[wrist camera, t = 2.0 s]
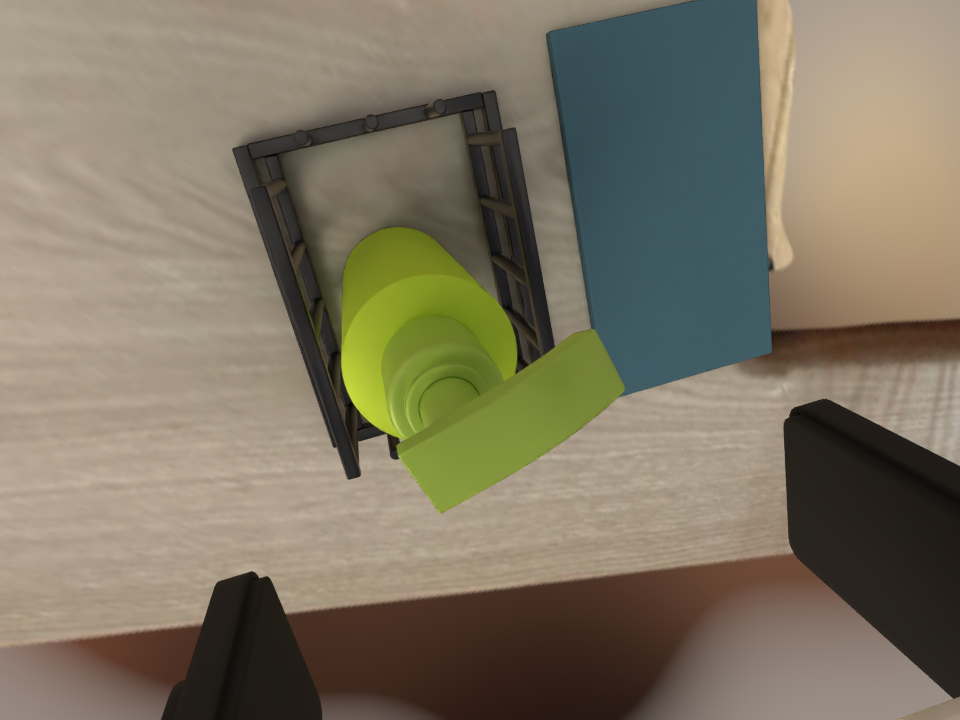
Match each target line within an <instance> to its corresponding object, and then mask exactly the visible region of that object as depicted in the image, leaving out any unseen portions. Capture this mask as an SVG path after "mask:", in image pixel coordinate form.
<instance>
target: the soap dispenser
mask: <svg viewBox="0 0 960 720" xmlns="http://www.w3.org/2000/svg"><path fill="white" fill-rule="evenodd" d="M516 365H517V344H516V338H515V334H514V330H513V328H512V325H511V323H510V320H509V318H508V316H507V315H506V313H505V311H504V310H503V308H502V307H501V306H500V304H499V303H498V302H497V301H496V300H495V299H494V298H493V297H492V296H491V295H490V294H489V293H488V292H487V291H486V290H485V289H484V288H483V287H482V286H481V285H480V284H479V283H478V282H477V281H476V280H475V279H474V278H473V277H472V276H471V275H470V274H469V273H468V272H467V271H466V270H465V269H464V268H463V267H462V266H461V265H460V264H459V263H458V262H457V261H456V260H455V259H454V258H453V257H452V256H451V255H450V254H449V253H448V252H447V251H446V250H445V249H444V248H443V247H442V246H441V245H440V244H439V243H438V242H437V241H435V240H434V239H433V238H432V237H430V236H429V235H427V234H425V233H423V232H421V231H418V230H415V229H411V228H406V227H392V228H386V229H382V230H379V231H377V232H374V233H372V234H371V235H369V236H367V237H366V238H365V239H363V240H362V241H361V242H360V243H359V244H358V245H357V246H356V247H355V248H354V250H353V251H352V253H351V254H350V256H349V258H348V260H347V262H346V265H345V268H344V273H343V290H342V343H341V368H342V375H343V380H344V384H345V387H346V390H347V392H348V394H349V396H350V398H351V400H352V402H353V403H354V405H355V406H356V408H357V409H358V411H359V412H360V413H361V414H362V415H363V416H364V417H365V418H366V419H367V420H368V421H369V422H370V423H372V424H373V425H374V426H376V427H377V428H379V429H380V430H382V431H384V432H386V433H388V434H390V435H392V436H395V437H398V438H401V439H403V440H404V441H403V442H401V443H399V444H398V445H397V446H396V447H397V453H398V457H399V458H400V460H401V461H402V463H403V464H404V465H405V467H406V468H407V469H408V471H409V472H410V473H411V475H412V476H413V478H414V479H415V480H416V482H417V483H418V484H419V486H420V487H421V488H422V490H423V491H424V493H425V494H426V495H427V497H428V498H429V499H430V501H431V502H432V503H433V505H434V506H435V508H436V509H437V510H438V512H439V513H440V514H441V513H443V512H445V511H447V510H449V509H450V508H452V507H454V506H456V505H458V504H460V503H461V502H463V501H465V500H467V499H469V498H470V497H472V496H474V495H476V494H478V493H479V492H481V491H483V490H485V489H487V488H488V487H490V486H492V485H494V484H495V483H497V482H499V481H501V480H502V479H504V478H506V477H508V476H509V475H511V474H513V473H514V472H516V471H518V470H520V469H521V468H523V467H525V466H526V465H528V464H529V463H531V462H533V461H534V460H536V459H537V458H539V457H541V456H542V455H544V454H545V453H547V452H548V451H550V450H551V449H553V448H554V447H556V446H557V445H559V444H560V443H562V442H563V441H564V440H566V439H567V438H569V437H570V436H571V435H573V434H574V433H575V432H577V431H578V430H579V429H581V428H582V427H583V426H584V425H586V424H587V423H588V422H590V421H591V420H592V419H593V418H595V417H596V416H597V415H598V414H599V413H601V412H602V411H603V410H604V409H605V408H607V407H608V406H609V405H610V404H611V403H612V402H614V401H615V400H616V399H617V398H618V397H619V396H620V395H621V394H622V393H623V392H624V391H625V387H624V384H623V382H622V380H621V378H620V376H619V374H618V373H617V371H616V369H615V367H614V365H613V363H612V361H611V359H610V357H609V355H608V353H607V351H606V349H605V347H604V345H603V344H602V342H601V340H600V338H599V336H598V334H597V332H596V331H595V330H594V329H590V330H585V331H581V332H576V333H574V334H572V335H570V336H569V337H568V338H566V339H565V340H564V341H562V342H561V343H560V344H558V345H557V346H556V347H554V348H553V349H552V350H550V351H549V352H548V353H546V354H545V355H543V356H542V357H541V358H539V359H538V360H536V361H535V362H533V363H532V364H530V365H529V366H527V367H526V368H524V369H523V370H521V371H520V372H518V373H517V374H515V371H516Z"/></svg>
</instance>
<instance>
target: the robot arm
mask: <svg viewBox="0 0 960 720" xmlns="http://www.w3.org/2000/svg"><path fill="white" fill-rule="evenodd" d="M784 448H785V470H786V491H787V512H788V534H789V543H790V546H791V548H792V550H793V552H794V554H795V555H796V557H797V558H798V559H799V560H800V561H801V562H802V563H803V564H804V565H805V566H806V567H808V568H809V569H810V570H811V571H812V572H813V573H814V574H816V576H818V577H819V578H820V579H821V580H822V581H823V582H824V583H825V584H826V585H828V586H829V587H830V588H831V589H832V590H833V591H834V592H835V593H837V594H838V595H839V596H840V597H841V598H842V599H843V600H844V601H845V602H847V603H848V604H849V605H850V606H851V607H852V608H853V609H854V610H856V611H857V612H858V613H859V614H860V615H861V616H862V617H863V618H864V619H866V621H868V622H869V623H870V624H871V625H872V626H873V627H874V628H876V629H877V630H878V631H879V632H880V633H881V634H882V635H883V636H884V637H885V638H887V639H888V640H889V641H890V642H891V643H892V644H893V645H894V646H896V647H897V648H898V649H899V650H900V651H901V652H902V653H903V654H904V655H905V656H907V657H908V658H909V659H910V660H911V661H912V662H913V663H914V664H915V665H917V666H918V667H919V668H920V669H921V670H922V671H923V672H924V673H925V674H927V675H928V676H929V677H930V678H931V679H932V680H933V681H934V682H936V683H937V684H938V685H939V686H940V687H941V688H942V689H943V690H944V691H945V692H947V693H948V694H949V695H950V696H951V697H952V698H953V699H952V700H949V701H947V702H944V703H941V704H939V705H936V706H933V707H931V708H928V709H925V710H922V711H920V712H917V713H914V714H911V715H908V716H906V717H903V718H900V719H898V720H960V466H958V465H956V464H954V463H953V462H951V461H949V460H947V459H945V458H943V457H941V456H939V455H937V454H935V453H933V452H931V451H929V450H927V449H925V448H923V447H921V446H919V445H917V444H915V443H913V442H911V441H909V440H907V439H905V438H903V437H901V436H899V435H897V434H895V433H893V432H891V431H890V430H888V429H886V428H884V427H882V426H880V425H878V424H876V423H874V422H872V421H870V420H868V419H866V418H864V417H862V416H860V415H858V414H856V413H854V412H852V411H850V410H848V409H846V408H844V407H842V406H840V405H838V404H836V403H834V402H832V401H830V400H827V399H821V400H818V401H814V402H811V403H808V404H805V405H801V406H798V407H795V408H793V409H792V410H791V412H790V415H789V418H787V419H786V420H785V422H784ZM161 720H322V708H321V702H320V698H319V695H318V692H317V690H316V687H315V685H314V683H313V680H312V678H311V675H310V673H309V670H308V668H307V666H306V663H305V661H304V659H303V656H302V653H301V651H300V649H299V646H298V644H297V641H296V639H295V637H294V634H293V632H292V629H291V627H290V624H289V622H288V620H287V617H286V615H285V612H284V610H283V607H282V605H281V603H280V600H279V598H278V595H277V593H276V590H275V588H274V586H273V583H272V581H271V579H270V578H269V577H267V576H266V577H263V578H259V577H258V575H257V574H256V573H255V572H253V571H251V572H248V573H245V574H242V575H238V576H235V577H232V578H228V579H225V580H222V581H219V582H217V583H216V585H215V587H214V590H213V594H212V597H211V600H210V603H209V606H208V609H207V613H206V616H205V619H204V622H203V625H202V628H201V632H200V635H199V638H198V641H197V644H196V647H195V650H194V654H193V657H192V660H191V663H190V666H189V669H188V673H187V676H186V679H185V680H183V681H180V682H178V683H177V684H176V685H175V686H174V687H173V689H172V691H171V693H170V695H169V698H168V701H167V704H166V707H165V710H164V713H163V716H162V719H161Z"/></svg>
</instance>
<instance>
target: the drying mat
mask: <svg viewBox="0 0 960 720" xmlns="http://www.w3.org/2000/svg"><path fill="white" fill-rule="evenodd" d="M546 36H547V42H548V49H549V55H550V62H551V68H552V75H553V81H554V88H555V94H556V101H557V107H558V113H559V120H560V126H561V133H562V139H563V146H564V152H565V159H566V165H567V172H568V178H569V185H570V191H571V197H572V204H573V210H574V217H575V223H576V230H577V236H578V243H579V249H580V256H581V262H582V269H583V275H584V281H585V288H586V294H587V301H588V307H589V314H590V320H591V327H592V329H594V330H595V331H596V332H597V334H598V336H599V338H600V340H601V342H602V344H603V345H604V347H605V349H606V351H607V353H608V355H609V357H610V359H611V361H612V363H613V365H614V367H615V369H616V371H617V373H618V374H619V376H620V378H621V380H622V382H623V384H624V387H625V391H624V392H623V393H622V394H621V395H620V396H619V397H621V396H625V395H628V394H632V393H635V392H638V391H642V390H645V389H649V388H652V387H655V386H659V385H662V384H666V383H669V382H673V381H676V380H679V379H683V378H686V377H690V376H693V375H696V374H700V373H703V372H707V371H710V370H713V369H717V368H720V367H724V366H727V365H731V364H734V363H737V362H741V361H744V360H748V359H751V358H754V357H758V356H761V355H765V354H768V353H771V352H772V341H771V318H770V296H769V273H768V250H767V227H766V205H765V182H764V159H763V137H762V114H761V91H760V68H759V46H758V23H757V0H695V1H691V2H686V3H681V4H676V5H672V6H667V7H662V8H658V9H653V10H648V11H644V12H639V13H634V14H630V15H625V16H620V17H616V18H611V19H606V20H602V21H597V22H592V23H588V24H583V25H578V26H574V27H569V28H564V29H559V30H555V31H550V32H549V33H547V34H546Z"/></svg>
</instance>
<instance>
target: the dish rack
mask: <svg viewBox="0 0 960 720" xmlns="http://www.w3.org/2000/svg"><path fill="white" fill-rule="evenodd" d="M479 108H482V111H483V116H484V121H485V126H486V131H487V132H479V133H478V132H477V127H476V122H475V117H474V112H473V110H475V109H479ZM457 113H460V118H461V122H462V127H463V132H464V137H465V142H466V146H467V151H468V156H469V161H470V165H471V170H472V175H473V180H474V185H475V189H476V194H477V199H478V204H479V209H480V213H481V218H482V223H483V228H484V233H485V237H486V242H487V247H488V252H489V257H490V261H491V266H492V271H493V276H494V280H495V285H496V290H497V295H498V300H499V304H500V306H501V307H502V308H503V310H504V311H505V313H506V315H507V316H508V318H509V320H510V323H511V325H512V328H513V330H514V334H515V338H516V344H517V365H516V371H515V374H517V373H518V372H520V371H521V370H523V369H524V368H526V367H527V366H529V365H528V364H527V362H526V361H525V360H524V359H523V356H522V351H521V346H520V341H519V336H518V331H517V329H518V330H519V331H520V332H521V333H522V334H523V335H524V336H525V337H526V338H527V340H528V346H529V351H530V356H531V361H532V363H533V362H535V361H536V360H538V359H539V358H541V357H542V356H543V355H545V354H546V353H548V352H549V351H550V350H552V349H553V348H554V347H555V345H554V339H553V333H552V328H551V322H550V317H549V311H548V306H547V300H546V294H545V289H544V283H543V278H542V272H541V267H540V261H539V255H538V250H537V244H536V239H535V233H534V228H533V222H532V216H531V211H530V205H529V200H528V194H527V189H526V183H525V178H524V172H523V166H522V161H521V155H520V150H519V144H518V139H517V133H516V129H515V128H508V129H502V124H501V118H500V113H499V108H498V102H497V97H496V92H495V91H494V90H492V91H488V92H484V93H481V92H478V93H474V94H469V95H465V96H460V97H456V98H451V99H447V100H442V99H438V100H436V101H434V102H432V103H429V104H424V105H420V106H415V107H411V108H407V109H402V110H398V111H393V112H389V113H384V114H380V115H368V116H367V117H366V118H362V119H357V120H353V121H348V122H344V123H339V124H335V125H330V126H326V127H321V128H317V129H312V130H308V131H303V130H299V131H297V132H296V133H294V134H290V135H285V136H281V137H276V138H272V139H267V140H263V141H258V142H254V143H249V144H247V145H246V146H241V147H237V148H233V149H232V150H233V153H234V156H235V159H236V162H237V165H238V168H239V171H240V174H241V177H242V180H243V183H244V186H245V189H246V191H247V194H248V197H249V200H250V203H251V206H252V209H253V212H254V215H255V218H256V221H257V224H258V227H259V230H260V233H261V236H262V239H263V242H264V245H265V247H266V250H267V253H268V256H269V259H270V262H271V265H272V268H273V271H274V274H275V277H276V280H277V283H278V286H279V289H280V292H281V295H282V298H283V300H284V303H285V306H286V309H287V312H288V315H289V318H290V321H291V324H292V327H293V330H294V333H295V336H296V339H297V342H298V345H299V348H300V351H301V354H302V356H303V359H304V362H305V365H306V368H307V371H308V374H309V377H310V380H311V383H312V386H313V389H314V392H315V395H316V398H317V401H318V404H319V407H320V409H321V412H322V415H323V418H324V421H325V424H326V427H327V430H328V433H329V436H330V439H331V442H332V445H333V447H334V448H336V447H337V450H338V452H339V455H340V458H341V461H342V464H343V467H344V470H345V473H346V476H347V479H348V480H350V479H353V478H357V477H360V476H361V470H360V467H359V449H358V442H359V441H362V440H366V439H369V438H373V437H376V436H380V435H383V434H387V438H388V445H389V451H390V456H391V458H392V459H395V460H397V459H399V457H398V453H397V447H396V446H397V445H398V444H399V443H400V440H399V438H398V437H395V436H392V435H390V434H388V433H386V432H384V431H382V430H380V429H379V428H377V427H376V426H374V425H373V424H372V423H370V422H369V423H366V424H363V423H362V420H361V417H360V413H359V411H358V409H357V408H356V406H355V405H354V403H353V402H352V400H351V398H350V396H349V394H348V392H347V390H346V387H345V384H344V380H343V375H342V368H341V353H340V350H339V347H338V344H337V340H336V337H335V334H334V331H333V328H332V324H331V321H330V318H329V315H328V312H327V309H326V305H325V302H324V299H323V296H322V293H321V290H320V286H319V283H318V280H317V277H316V274H315V270H314V267H313V264H312V261H311V258H310V255H309V251H308V248H307V245H306V242H305V239H304V236H303V232H302V229H301V226H300V223H299V220H298V216H297V213H296V210H295V207H294V204H293V201H292V197H291V194H290V191H289V188H288V185H287V182H286V178H285V175H284V172H283V169H282V166H281V162H280V159H279V156H278V155H277V154H280V153H285V152H289V151H293V150H298V149H302V148H307V147H311V146H316V145H320V144H324V143H329V142H333V141H338V140H342V139H346V138H351V137H355V136H360V135H364V134H369V133H373V132H377V131H382V130H386V129H391V128H395V127H400V126H404V125H408V124H413V123H417V122H422V121H426V120H430V119H435V118H439V117H444V116H448V115H453V114H457ZM480 146H490V152H491V157H492V162H493V167H494V172H495V177H496V182H497V187H498V192H499V198H500V199H499V198H496V197H492V196H490V192H489V187H488V182H487V177H486V172H485V167H484V162H483V157H482V152H481V147H480ZM262 157H265V161H266V164H267V167H268V171H269V174H270V177H271V180H272V181H270V182H268V183H265V184H263V185H262V183H261V180H260V177H259V174H258V171H257V168H256V165H255V162H254V159H258V158H262ZM276 195H277V198H278V202H279V205H280V208H281V211H282V214H283V217H284V220H285V223H286V226H287V229H288V232H289V236H290V239H291V242H292V245H293V246H292V247H291V249H290V251H289V249H288V246H287V243H286V240H285V237H284V234H283V231H282V227H281V224H280V221H279V218H278V215H277V212H276V209H275V206H274V203H273V200H272V198H273V197H274V196H276ZM493 210H494V211H496V212H499V213H501V214H503V218H504V223H505V228H506V233H507V238H508V243H509V249H510V254H511V259H512V260H510V259H509V258H507V257H506V256H504V255H503V254H502V251H501V246H500V241H499V236H498V231H497V226H496V221H495V216H494V211H493ZM298 266H299V267H300V270H301V273H302V276H303V279H304V282H305V285H306V288H307V291H308V294H309V297H310V301H311V308H310V313H309V310H308V307H307V304H306V301H305V298H304V295H303V292H302V289H301V286H300V283H299V280H298V277H297V273H296V271H297V269H298ZM506 272H507V273H509V274H510V275H511V276H513V277H514V278H515V279H516V284H517V289H518V294H519V300H520V305H521V310H522V315H523V317H522V316H521V315H520V314H519V313H518V312H517V311H516V310H515V309H514V308H513V306H512V301H511V296H510V291H509V286H508V281H507V276H506ZM320 332H321V335H322V338H323V341H324V344H325V347H326V350H327V353H328V356H329V364H328V368H327V365H326V362H325V359H324V356H323V353H322V350H321V347H320V344H319V337H320ZM340 393H341V397H342V400H343V403H344V406H345V421H344V418H343V414H342V411H341V408H340Z"/></svg>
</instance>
